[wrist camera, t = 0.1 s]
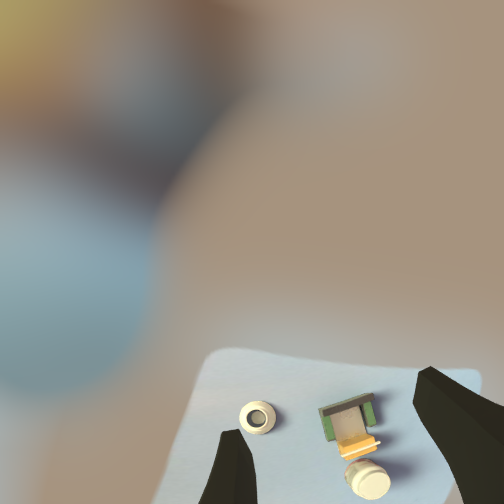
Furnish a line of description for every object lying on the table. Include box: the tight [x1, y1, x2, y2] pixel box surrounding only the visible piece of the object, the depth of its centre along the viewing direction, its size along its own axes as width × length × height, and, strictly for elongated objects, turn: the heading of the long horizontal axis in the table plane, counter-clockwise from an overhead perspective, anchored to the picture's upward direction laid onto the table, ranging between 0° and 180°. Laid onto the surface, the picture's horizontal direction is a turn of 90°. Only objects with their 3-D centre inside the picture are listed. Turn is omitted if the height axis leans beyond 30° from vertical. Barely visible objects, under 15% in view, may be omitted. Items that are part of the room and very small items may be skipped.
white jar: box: [240, 401, 276, 434], centre depth 36 cm, size 5×3×5 cm
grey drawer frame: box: [318, 393, 376, 455], centre depth 33 cm, size 8×7×4 cm
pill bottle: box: [345, 459, 391, 500], centre depth 27 cm, size 5×5×8 cm
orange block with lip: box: [338, 434, 380, 460], centre depth 31 cm, size 2×5×5 cm, turn 103°
